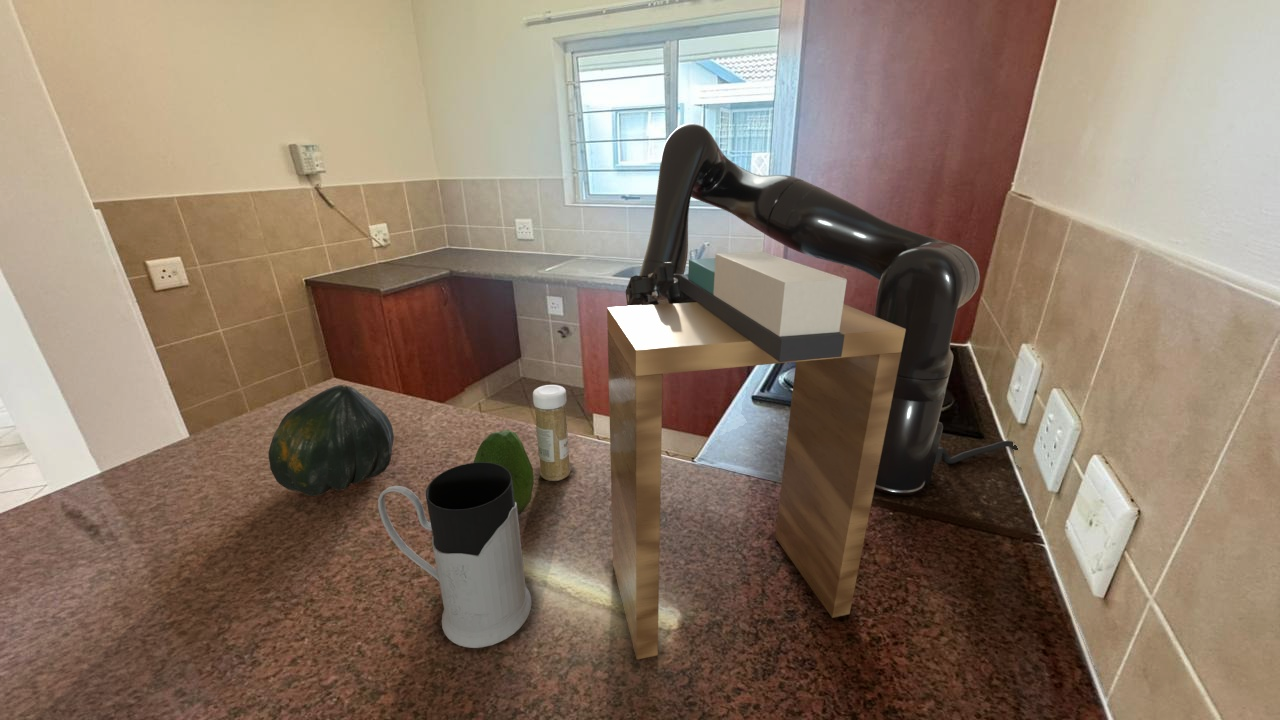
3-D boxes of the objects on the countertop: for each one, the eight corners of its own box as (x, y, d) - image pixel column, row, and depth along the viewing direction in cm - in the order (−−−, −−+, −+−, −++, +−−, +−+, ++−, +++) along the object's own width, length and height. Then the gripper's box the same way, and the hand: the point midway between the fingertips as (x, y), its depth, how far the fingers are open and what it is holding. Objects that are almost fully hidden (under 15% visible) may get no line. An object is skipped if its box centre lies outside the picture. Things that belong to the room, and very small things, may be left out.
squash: (233, 456, 68) (264, 390, 61) (334, 413, 81) (369, 356, 74) (301, 534, 67) (340, 477, 60) (392, 479, 80) (432, 427, 73)
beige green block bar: (720, 287, 54) (722, 238, 52) (841, 357, 34) (853, 280, 32) (679, 289, 53) (680, 239, 51) (779, 362, 33) (787, 284, 31)
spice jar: (576, 475, 73) (571, 391, 68) (547, 486, 71) (540, 399, 66) (562, 461, 77) (557, 381, 72) (534, 470, 74) (527, 388, 69)
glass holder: (510, 654, 46) (493, 520, 41) (372, 631, 48) (338, 502, 43) (543, 582, 54) (533, 463, 49) (423, 565, 56) (401, 449, 51)
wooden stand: (790, 535, 61) (821, 294, 51) (849, 614, 50) (906, 328, 40) (613, 565, 56) (606, 307, 46) (636, 660, 46) (635, 350, 35)
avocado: (548, 505, 67) (542, 425, 62) (510, 542, 60) (500, 455, 56) (500, 490, 70) (491, 413, 65) (459, 524, 63) (446, 440, 59)
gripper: (612, 287, 64) (637, 235, 49) (716, 281, 67) (771, 231, 52) (618, 344, 63) (646, 310, 48) (724, 336, 66) (782, 301, 51)
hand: (711, 269), depth 50 cm, fingers open, 8 cm apart
